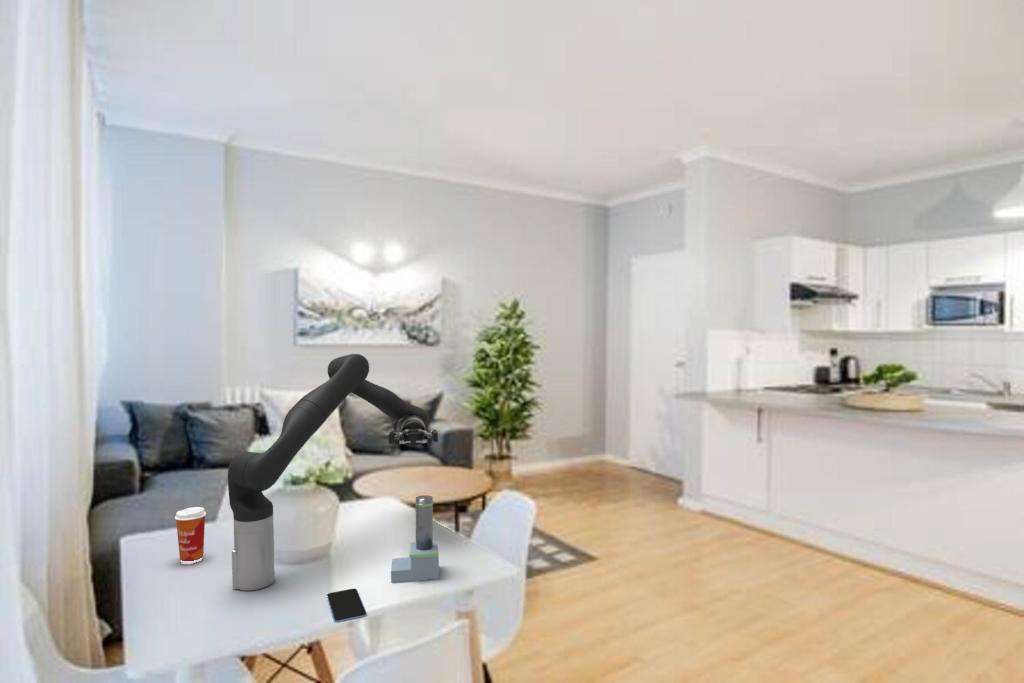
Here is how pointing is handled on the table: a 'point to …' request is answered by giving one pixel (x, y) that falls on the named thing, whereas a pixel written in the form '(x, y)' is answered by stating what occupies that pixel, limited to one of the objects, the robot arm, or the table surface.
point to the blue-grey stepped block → (416, 565)
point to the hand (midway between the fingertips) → (413, 441)
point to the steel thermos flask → (424, 522)
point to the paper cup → (191, 533)
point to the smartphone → (346, 605)
